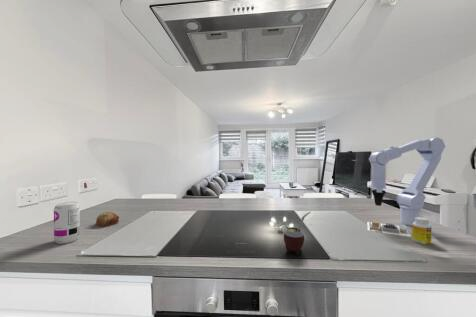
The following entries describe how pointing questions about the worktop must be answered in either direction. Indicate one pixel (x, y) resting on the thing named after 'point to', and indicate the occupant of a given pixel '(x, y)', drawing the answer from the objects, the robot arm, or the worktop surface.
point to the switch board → (388, 229)
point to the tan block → (375, 225)
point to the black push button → (390, 226)
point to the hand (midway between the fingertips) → (378, 205)
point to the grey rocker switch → (402, 228)
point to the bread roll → (107, 219)
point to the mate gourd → (294, 238)
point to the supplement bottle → (421, 231)
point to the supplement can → (66, 222)
